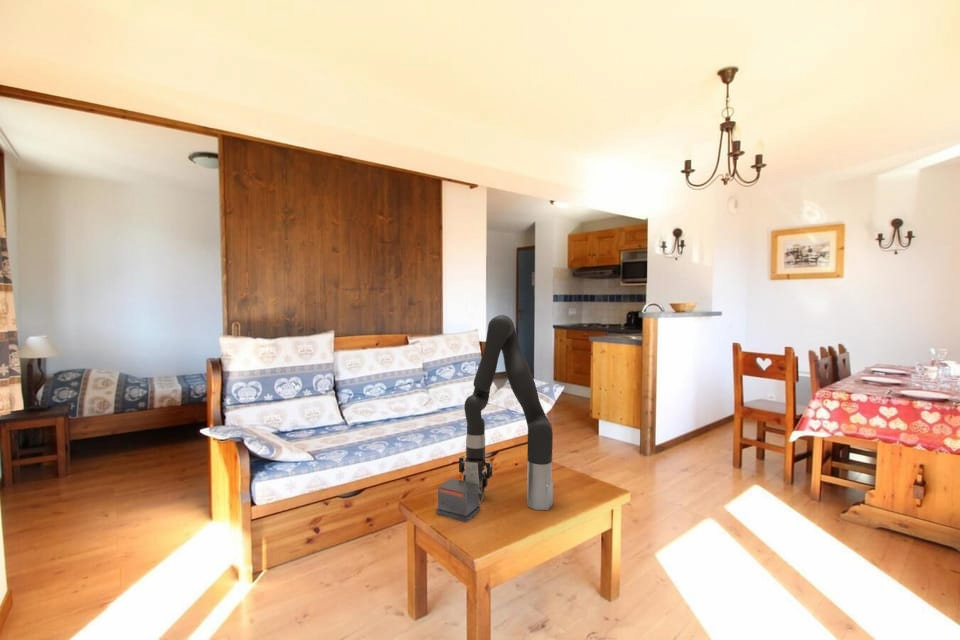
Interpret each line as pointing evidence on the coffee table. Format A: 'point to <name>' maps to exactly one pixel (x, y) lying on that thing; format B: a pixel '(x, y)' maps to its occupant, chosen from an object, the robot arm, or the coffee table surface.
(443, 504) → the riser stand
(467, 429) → the robot arm
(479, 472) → the coffee box
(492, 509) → the coffee table surface
